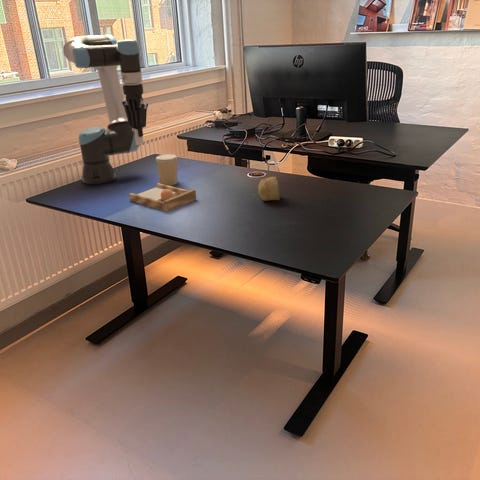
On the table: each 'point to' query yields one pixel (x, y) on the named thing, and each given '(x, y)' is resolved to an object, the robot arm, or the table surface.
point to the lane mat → (155, 194)
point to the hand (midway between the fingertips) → (139, 144)
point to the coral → (269, 189)
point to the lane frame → (168, 204)
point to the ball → (166, 194)
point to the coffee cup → (167, 169)
